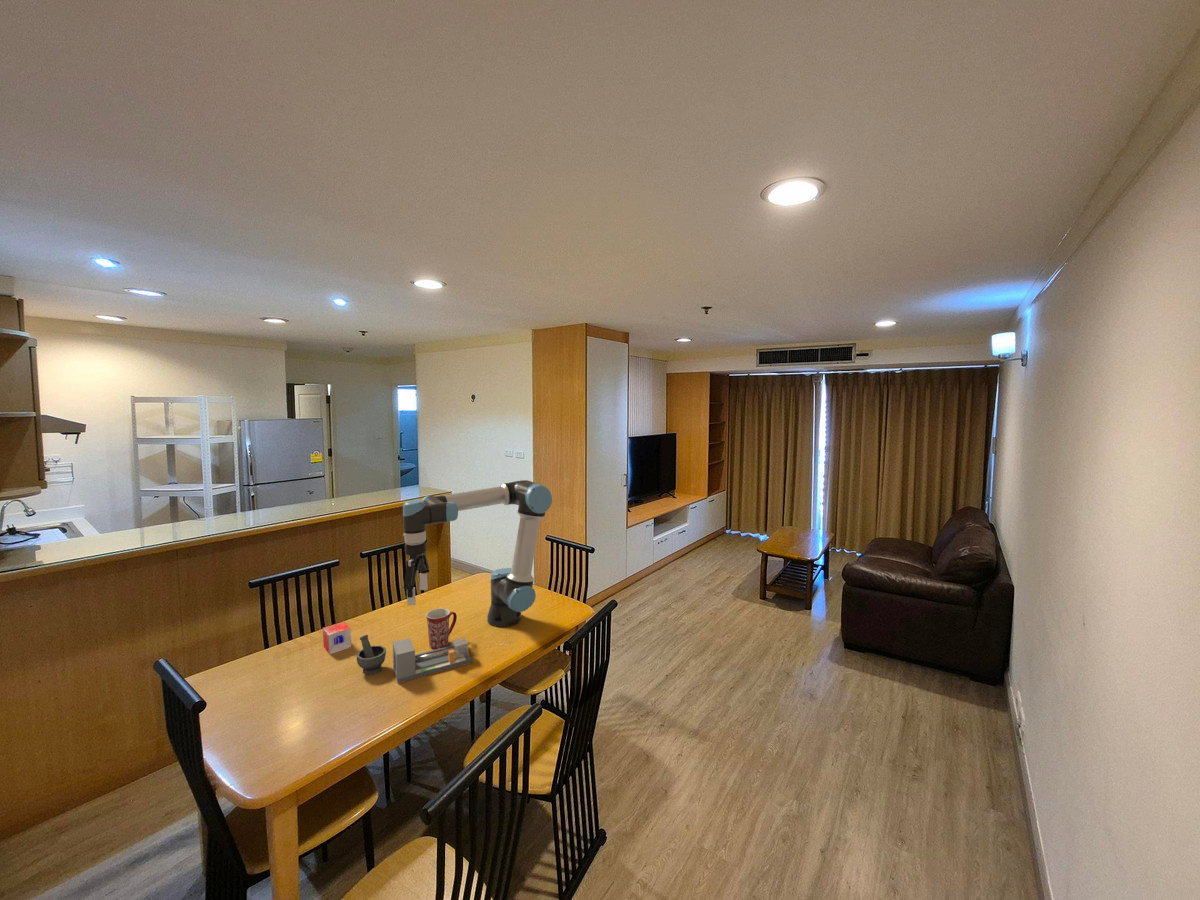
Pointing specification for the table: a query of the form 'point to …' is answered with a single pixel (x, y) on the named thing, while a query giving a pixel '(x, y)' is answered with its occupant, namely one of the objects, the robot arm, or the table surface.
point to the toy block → (336, 637)
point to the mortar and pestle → (370, 657)
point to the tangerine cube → (451, 656)
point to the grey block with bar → (458, 646)
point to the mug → (439, 627)
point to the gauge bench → (410, 669)
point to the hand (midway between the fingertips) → (417, 597)
